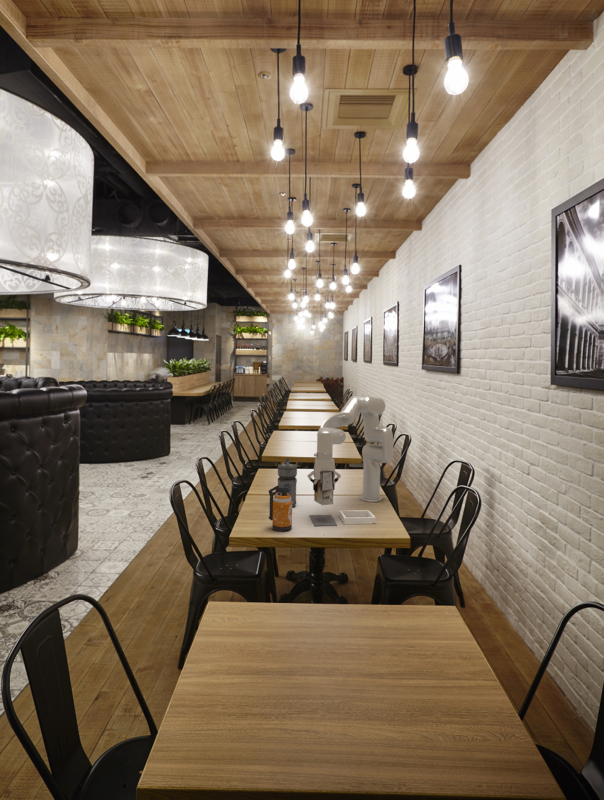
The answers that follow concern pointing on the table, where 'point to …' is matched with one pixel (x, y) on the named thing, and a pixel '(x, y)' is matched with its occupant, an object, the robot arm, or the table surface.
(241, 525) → the table surface
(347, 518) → the holder
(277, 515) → the canister
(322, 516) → the mat
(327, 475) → the coffee box
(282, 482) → the beverage bottle
